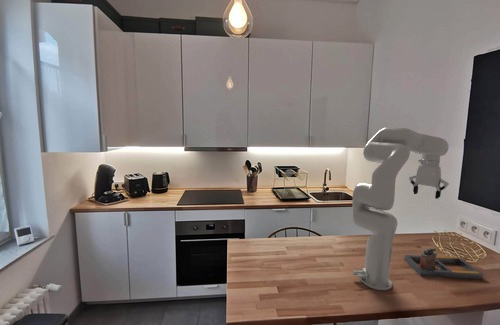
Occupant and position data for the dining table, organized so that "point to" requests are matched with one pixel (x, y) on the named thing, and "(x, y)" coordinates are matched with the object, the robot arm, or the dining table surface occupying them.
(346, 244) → the dining table surface
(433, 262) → the reddish brown container
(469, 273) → the grey divided frame
